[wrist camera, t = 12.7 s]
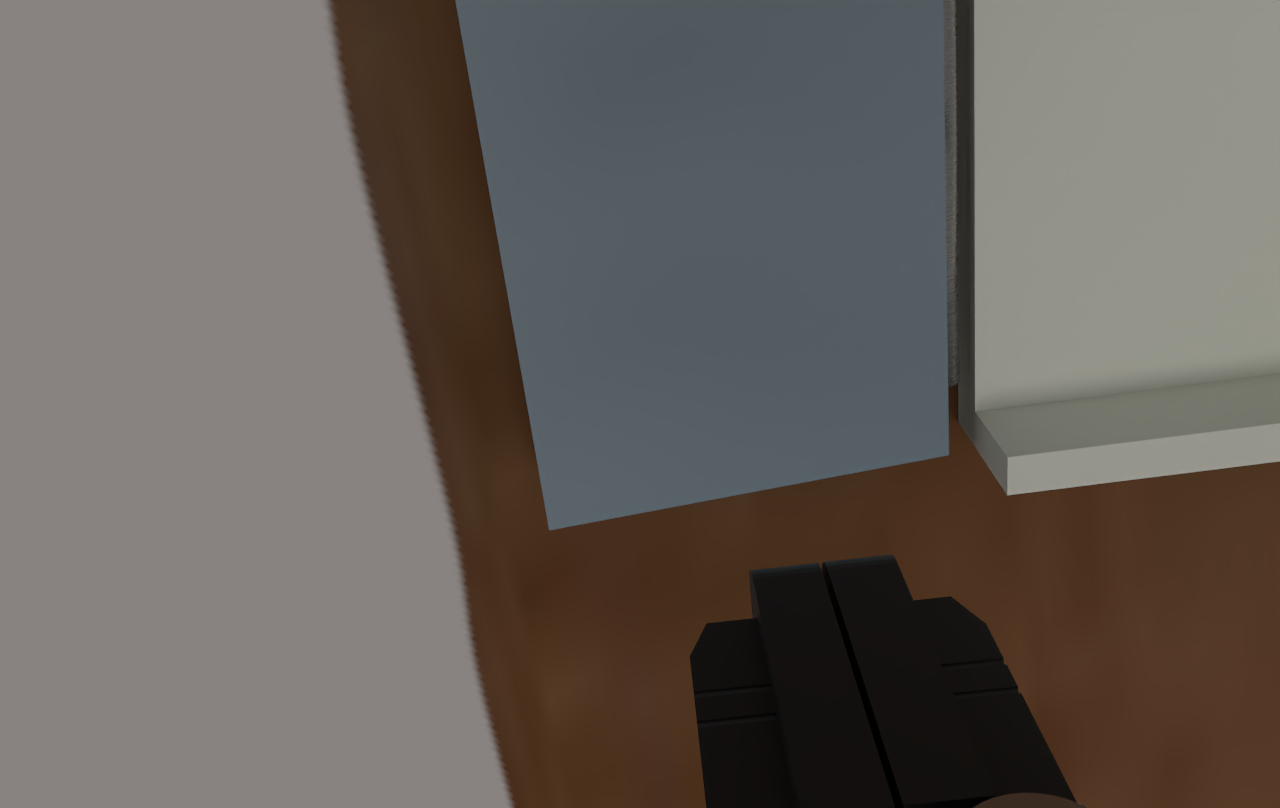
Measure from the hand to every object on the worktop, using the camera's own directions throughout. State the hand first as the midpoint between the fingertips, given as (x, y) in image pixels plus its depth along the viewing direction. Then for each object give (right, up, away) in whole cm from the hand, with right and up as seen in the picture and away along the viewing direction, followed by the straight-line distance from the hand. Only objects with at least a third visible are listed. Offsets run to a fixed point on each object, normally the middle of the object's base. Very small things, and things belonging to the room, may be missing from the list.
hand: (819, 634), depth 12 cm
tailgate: (+5, +8, +14) cm, 17 cm away
